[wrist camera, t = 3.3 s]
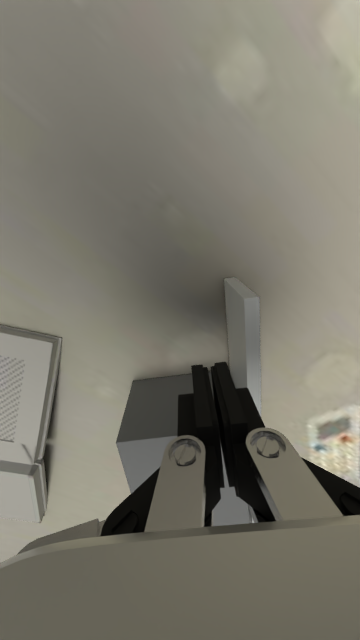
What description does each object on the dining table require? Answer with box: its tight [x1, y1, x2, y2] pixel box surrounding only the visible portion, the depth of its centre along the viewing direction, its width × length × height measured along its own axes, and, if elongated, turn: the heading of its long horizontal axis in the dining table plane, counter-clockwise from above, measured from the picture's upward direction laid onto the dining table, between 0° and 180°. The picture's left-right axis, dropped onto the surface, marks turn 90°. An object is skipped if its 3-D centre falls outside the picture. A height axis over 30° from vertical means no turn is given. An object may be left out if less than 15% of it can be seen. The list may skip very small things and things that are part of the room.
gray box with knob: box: [116, 371, 249, 526], centre depth 20 cm, size 14×8×7 cm, turn 7°
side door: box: [224, 277, 261, 523], centre depth 18 cm, size 20×2×6 cm, turn 7°
